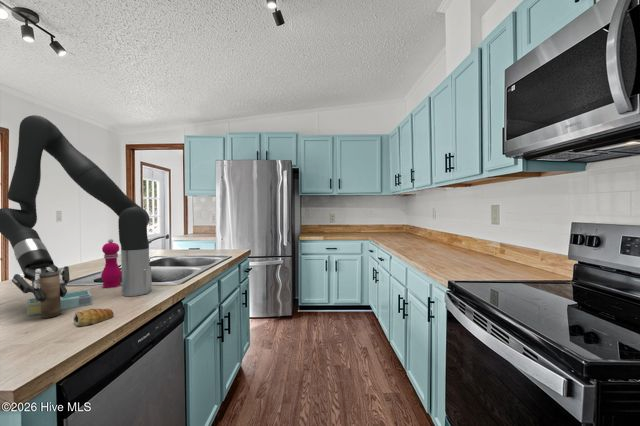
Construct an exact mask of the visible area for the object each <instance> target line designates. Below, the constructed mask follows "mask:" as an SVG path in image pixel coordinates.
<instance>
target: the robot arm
mask: <svg viewBox="0 0 640 426" xmlns="http://www.w3.org/2000/svg"><path fill="white" fill-rule="evenodd" d="M43 151H45V152H46V153H48V154H49V155H50V156H51V157H53V158H54V159H55V160H56V161H57V162H58V163H59V164H60V166H61V167H62V168H63V170H64V171H65V173H66V174H67V175H68V176H69V178H70V179H71V180H72V181H74V183H76V185H78V186H79V187H80V188H81V189H82V190H83V191H85V192H86V193H87V194H88V195H90V196H91V197H93V198H95V199H96V200H98V201H99V202H101V203H103V205H105V206H107V207H108V208H109V209H110V210H112V211H113V213H115V214H116V215H117V217H118V221H117V222H118V227H117V228H118V238H119V239H118V241H119V244H120V256H121V257H120V259H121V261H120V262H121V272H122V276H121V292H122V296H123V297H135V296H136V297H137V296H141V295H147V294H149V293H150V292H151V291H152V290H153V289H152V288H153V287H152V286H153V285H152V284H153V282H152V266H150V241H149V238H148V225H149V224H150V216H149V213H148V212H147V211H146V210H145V209H144V208H143V207H141V206H140V205H139V204H137V202H135V201H133V200H132V199H131V198H130V197H128V196H127V195H126V194H125V192H123V191H122V189H121V188H120V187H119V185H117V184H116V183H115V181H114V180H112V178H111V177H110V176H109V175H108V174H107V173H106V172H104V171H103V169H101V168H100V167H99V166H98V165H97V164H96V163H95V162H94V161H92V160H91V159H90V158H88V157H87V156H86V155H84V153H82V152H80V151H79V150H78V149H77V148H76V147H75V146H74V145H73V144H72V143H71V142H70V141H69V140H68V139H67V137H66V136H65V135H64V133H63V132H61V130H60V129H59V128H58V127H57V126H56V124H54V123H53V122H51V121H50V120H49V119H47V118H45V117H44V116H41V115H37V114H33V115H29V116H25V117H24V118H23V119H22V120H21V122H20V123H19V129H18V145H17V155H16V161H15V166H14V170H13V173H12V178H11V181H10V185H9V188H8V191H7V194H6V196H7V199H8V200H9V201H11V202H15V203H17V204H18V205H19V207H20V209H19V208H11V207H9V208H8V207H2V208H0V234H1V235H2V236H3V237H4V238H5V239H6V240H7V241H9V243H10V245H11V248H12V250H13V252H14V253H13V254H14V257H15V260H16V261H17V264H18V265H19V267H20V270H21V271H22V273H21V274H18V273H15V274H14V275H13V277H12V279H11V282H12V283H13V284H14V285H15V286H16V287H17V288H18V289H19V290H20V291H21V292H22V293H23V294H29V293H32V294H33V296H34V298H36V300H37V301H40V302H44V300H45V296H44V294H43V291H42V289H41V288H40V279H39V274H42V273H47V272H59V275H60V276H61V278H60V297H61V298H62V297H65V295H66V293H68V290H67V288H66V286H68V283H69V282H70V280H71V278H70V277H71V276H70V270H69V269H70V268H69V266H65V265H64V266H63V267H58V266H57V265H55V264H54V260H53V259H52V257H51V254H50V252H49V250H48V248H47V247H46V244H44V242H43V241H42V239H41V237H40V236H39V234H38V232H37V231H36V230H35V229H34V227H35V225H36V224H37V221H38V215H37V213H38V212H37V195H38V193H39V188H40V186H41V185H40V184H41V178H42V177H41V176H42V175H41V174H42V169H41V164H42V156H43V153H44V152H43ZM25 279H26V280H25ZM27 280H28V281H31V285H30V283H28V281H27Z"/></svg>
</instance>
